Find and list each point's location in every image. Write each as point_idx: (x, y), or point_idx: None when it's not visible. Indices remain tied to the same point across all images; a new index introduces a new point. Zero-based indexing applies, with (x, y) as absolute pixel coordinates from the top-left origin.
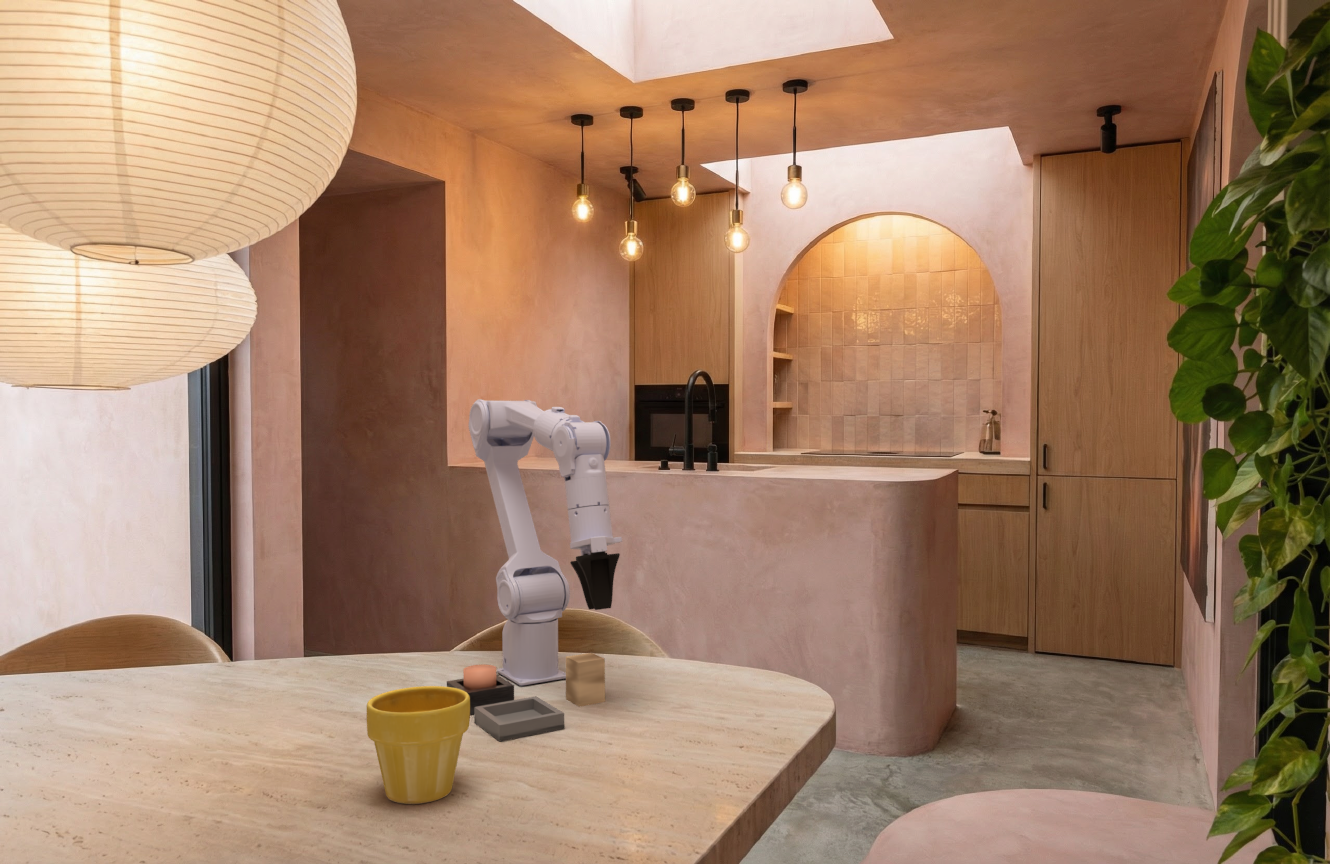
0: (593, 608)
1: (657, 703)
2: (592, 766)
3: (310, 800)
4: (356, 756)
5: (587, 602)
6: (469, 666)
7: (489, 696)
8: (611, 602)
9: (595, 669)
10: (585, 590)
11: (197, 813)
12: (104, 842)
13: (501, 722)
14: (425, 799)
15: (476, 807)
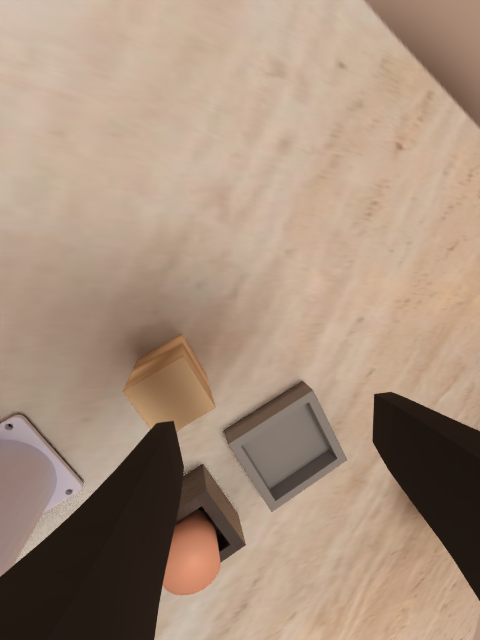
0: (180, 455)
1: (197, 244)
2: (419, 336)
3: (435, 549)
4: (351, 564)
5: (179, 495)
6: (174, 591)
7: (225, 508)
8: (406, 398)
9: (194, 368)
10: (163, 555)
11: (438, 606)
12: (465, 626)
13: (338, 460)
14: None
15: (476, 424)
